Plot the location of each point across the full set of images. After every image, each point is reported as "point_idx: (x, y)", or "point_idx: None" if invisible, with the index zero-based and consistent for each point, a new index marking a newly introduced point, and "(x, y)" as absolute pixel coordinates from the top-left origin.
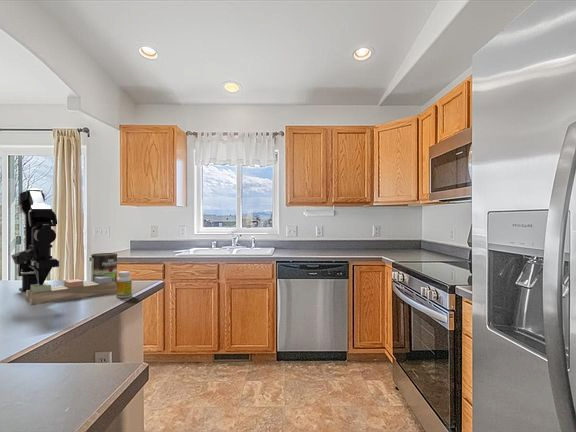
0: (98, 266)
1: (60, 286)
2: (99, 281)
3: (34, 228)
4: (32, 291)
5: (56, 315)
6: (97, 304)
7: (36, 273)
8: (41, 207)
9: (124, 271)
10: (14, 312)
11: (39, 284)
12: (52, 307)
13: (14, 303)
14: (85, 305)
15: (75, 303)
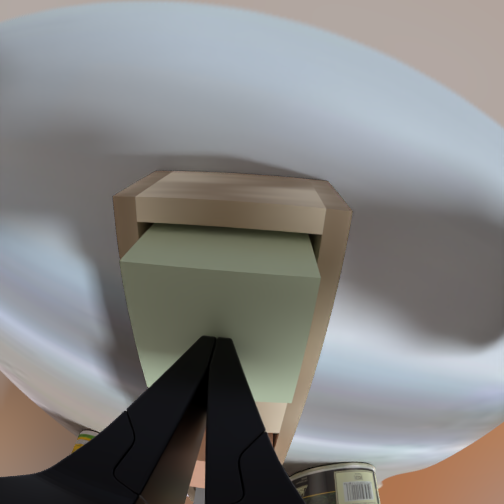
0: None
1: (270, 422)
2: (195, 494)
3: None
4: (234, 235)
5: None
6: (24, 359)
7: (206, 467)
8: None
9: None
10: (42, 53)
11: (200, 337)
12: (30, 238)
13: (317, 93)
14: (20, 334)
15: (62, 335)
